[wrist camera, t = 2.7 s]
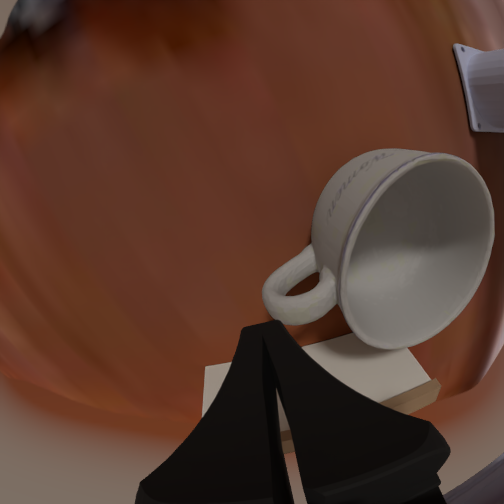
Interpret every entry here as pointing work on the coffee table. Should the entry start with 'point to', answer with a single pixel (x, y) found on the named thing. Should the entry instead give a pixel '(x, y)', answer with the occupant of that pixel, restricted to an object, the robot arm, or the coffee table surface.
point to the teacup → (392, 248)
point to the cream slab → (353, 377)
